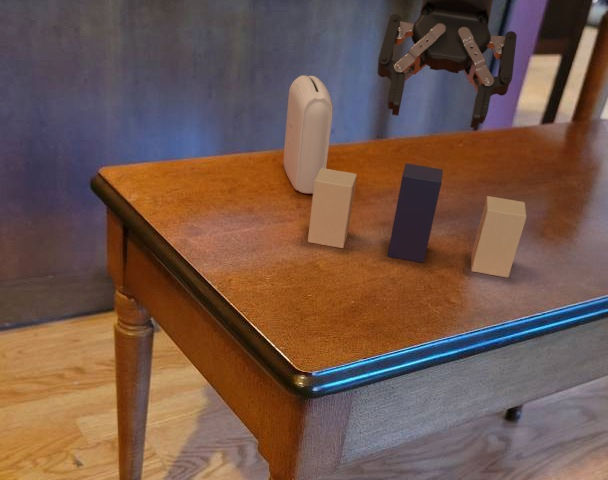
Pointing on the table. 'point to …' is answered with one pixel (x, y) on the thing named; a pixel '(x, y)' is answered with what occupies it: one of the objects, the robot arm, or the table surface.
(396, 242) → the navy block
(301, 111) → the photo printer
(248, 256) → the table surface
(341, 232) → the post
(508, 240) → the post
